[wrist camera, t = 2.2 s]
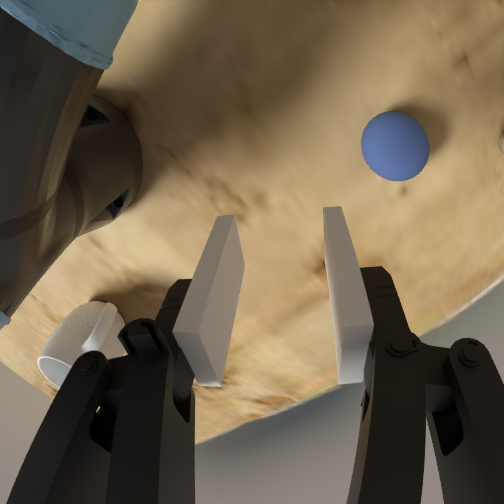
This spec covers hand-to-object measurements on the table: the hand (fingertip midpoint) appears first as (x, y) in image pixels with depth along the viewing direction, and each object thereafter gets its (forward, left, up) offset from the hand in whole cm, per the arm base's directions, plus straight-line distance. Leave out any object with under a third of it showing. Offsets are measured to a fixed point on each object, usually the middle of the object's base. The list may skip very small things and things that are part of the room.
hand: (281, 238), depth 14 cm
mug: (-28, -21, -17) cm, 39 cm away
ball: (+10, 0, -14) cm, 17 cm away
